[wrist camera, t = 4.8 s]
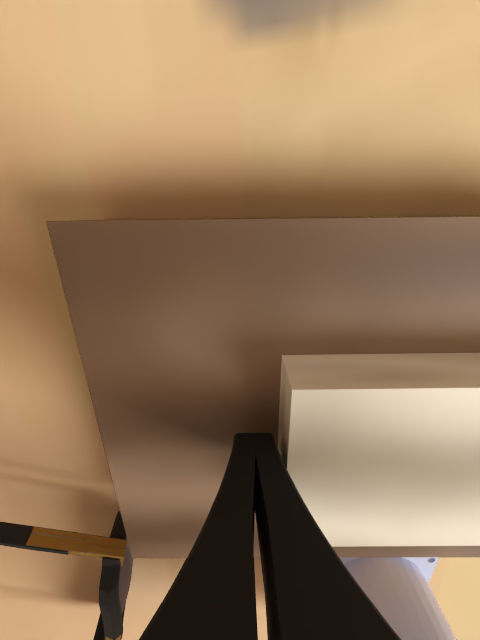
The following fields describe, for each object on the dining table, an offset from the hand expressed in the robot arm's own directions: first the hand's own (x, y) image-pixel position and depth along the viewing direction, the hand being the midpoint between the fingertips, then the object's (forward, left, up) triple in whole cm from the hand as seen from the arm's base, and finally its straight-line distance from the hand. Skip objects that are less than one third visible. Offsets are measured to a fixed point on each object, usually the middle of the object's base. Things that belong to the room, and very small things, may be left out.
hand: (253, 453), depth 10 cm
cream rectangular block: (0, -6, -1) cm, 6 cm away
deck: (0, -3, -4) cm, 5 cm away
